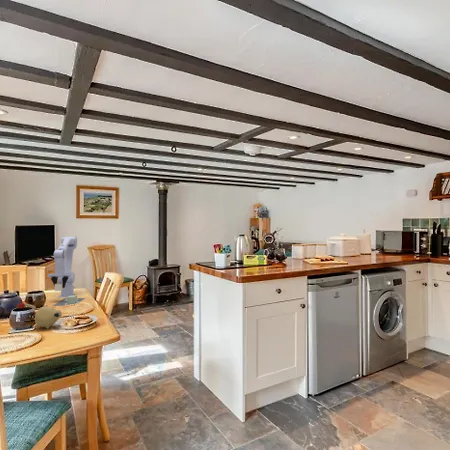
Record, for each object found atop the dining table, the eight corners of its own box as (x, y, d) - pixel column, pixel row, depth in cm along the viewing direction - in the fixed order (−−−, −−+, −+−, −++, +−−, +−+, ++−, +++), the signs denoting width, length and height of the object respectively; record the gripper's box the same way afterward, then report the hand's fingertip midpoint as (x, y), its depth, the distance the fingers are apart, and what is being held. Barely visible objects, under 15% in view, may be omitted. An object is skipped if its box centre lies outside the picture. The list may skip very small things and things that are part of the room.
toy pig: (58, 329, 156) (58, 308, 156) (31, 331, 153) (31, 309, 153) (63, 323, 165) (63, 303, 165) (38, 325, 162) (38, 304, 162)
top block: (57, 289, 213) (57, 282, 213) (64, 289, 213) (64, 282, 213) (54, 290, 208) (54, 284, 208) (61, 290, 208) (61, 284, 208)
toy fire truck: (40, 322, 167) (40, 304, 167) (17, 321, 168) (17, 303, 168) (45, 320, 170) (45, 302, 170) (21, 319, 172) (21, 302, 172)
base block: (69, 302, 208) (69, 295, 208) (76, 302, 209) (76, 295, 209) (67, 304, 204) (67, 297, 204) (74, 303, 204) (74, 297, 204)
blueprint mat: (64, 298, 219) (64, 298, 219) (85, 298, 220) (85, 297, 220) (52, 306, 199) (52, 305, 199) (75, 305, 201) (75, 305, 201)
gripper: (45, 268, 206) (45, 289, 206) (68, 268, 207) (68, 288, 207) (50, 267, 213) (50, 287, 213) (72, 266, 214) (72, 286, 214)
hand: (59, 287), depth 211 cm, fingers closed on top block, 4 cm apart
